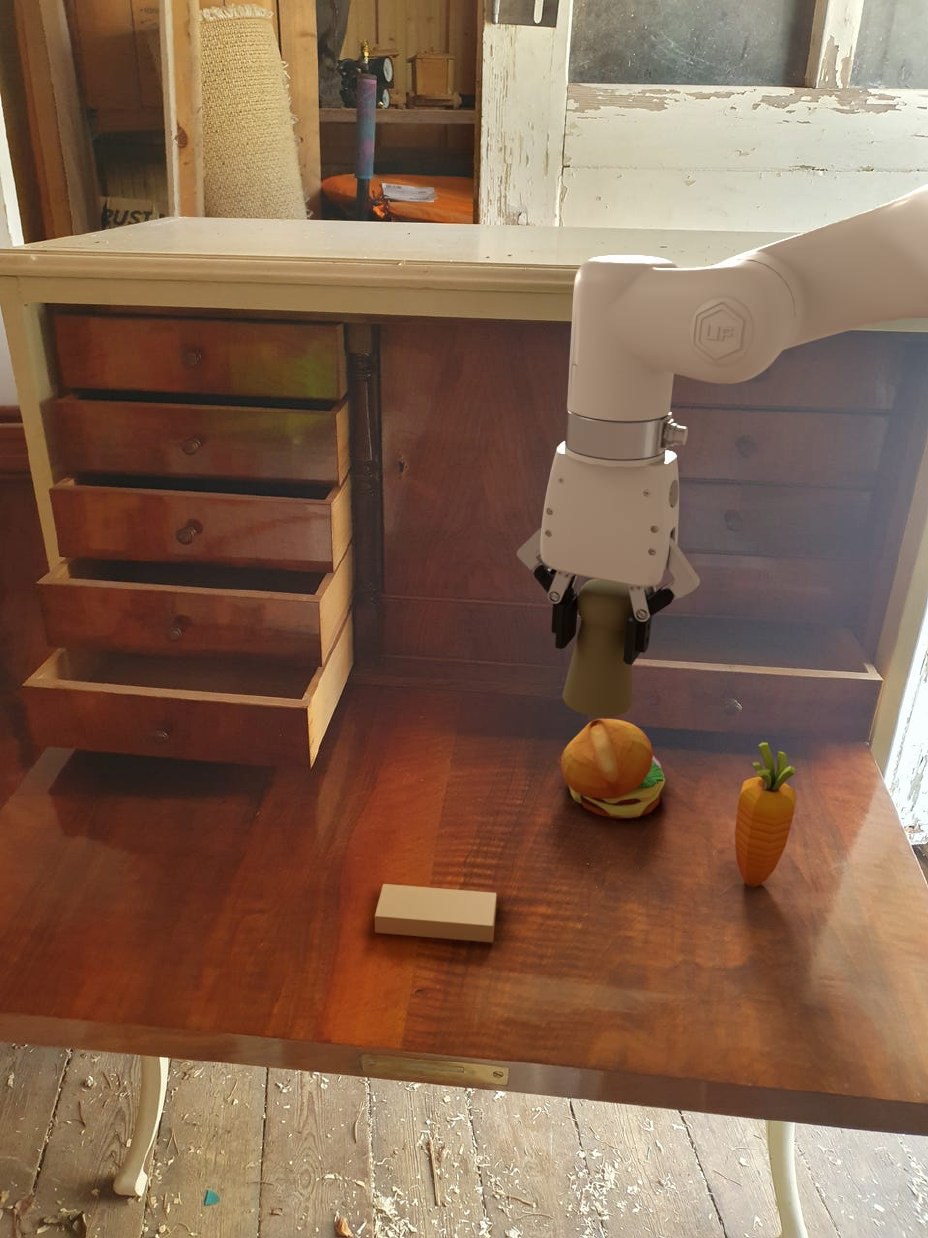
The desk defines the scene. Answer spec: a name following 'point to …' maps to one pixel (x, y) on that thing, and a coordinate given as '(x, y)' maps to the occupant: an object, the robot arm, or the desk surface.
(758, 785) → the carrot
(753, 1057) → the desk surface
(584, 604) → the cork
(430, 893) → the beige rectangular eraser
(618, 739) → the cheeseburger
